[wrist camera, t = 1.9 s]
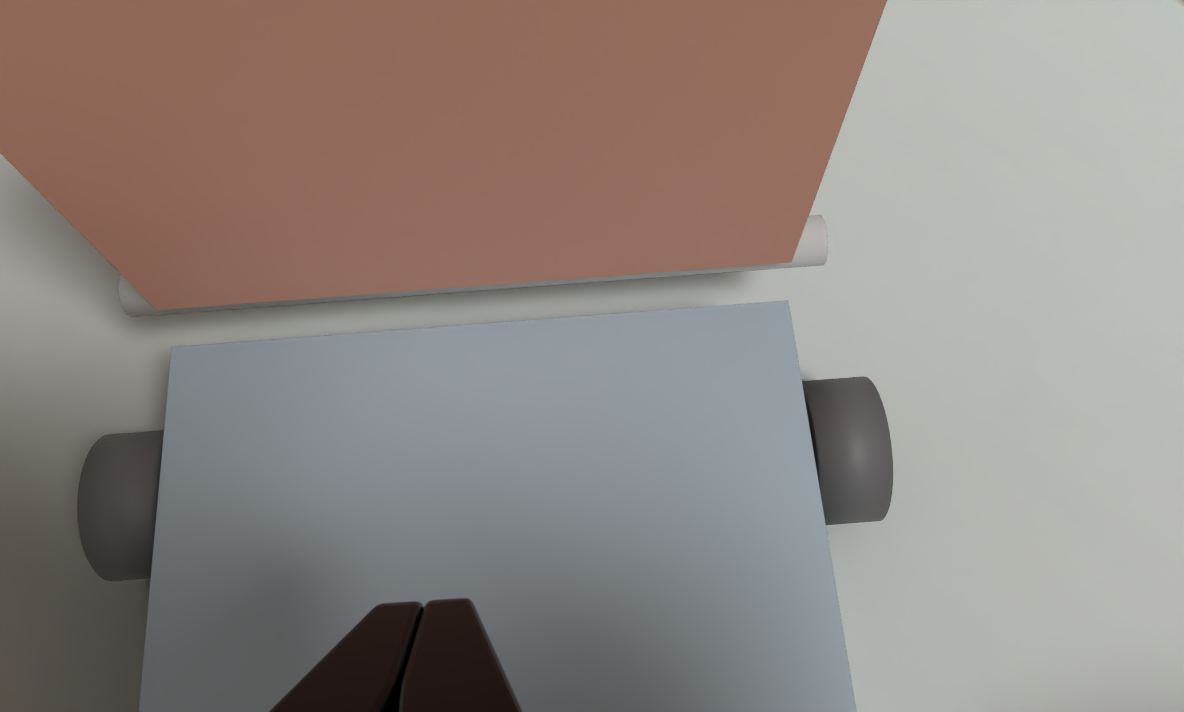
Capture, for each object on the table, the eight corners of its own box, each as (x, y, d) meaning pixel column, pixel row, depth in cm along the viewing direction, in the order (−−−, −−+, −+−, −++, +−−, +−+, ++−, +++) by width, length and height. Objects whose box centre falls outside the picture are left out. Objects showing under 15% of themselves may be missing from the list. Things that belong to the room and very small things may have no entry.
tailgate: (821, 280, 18) (1019, -166, 9) (138, 333, 18) (-310, -75, 9) (811, 223, 19) (990, -255, 10) (144, 273, 18) (-276, -168, 10)
